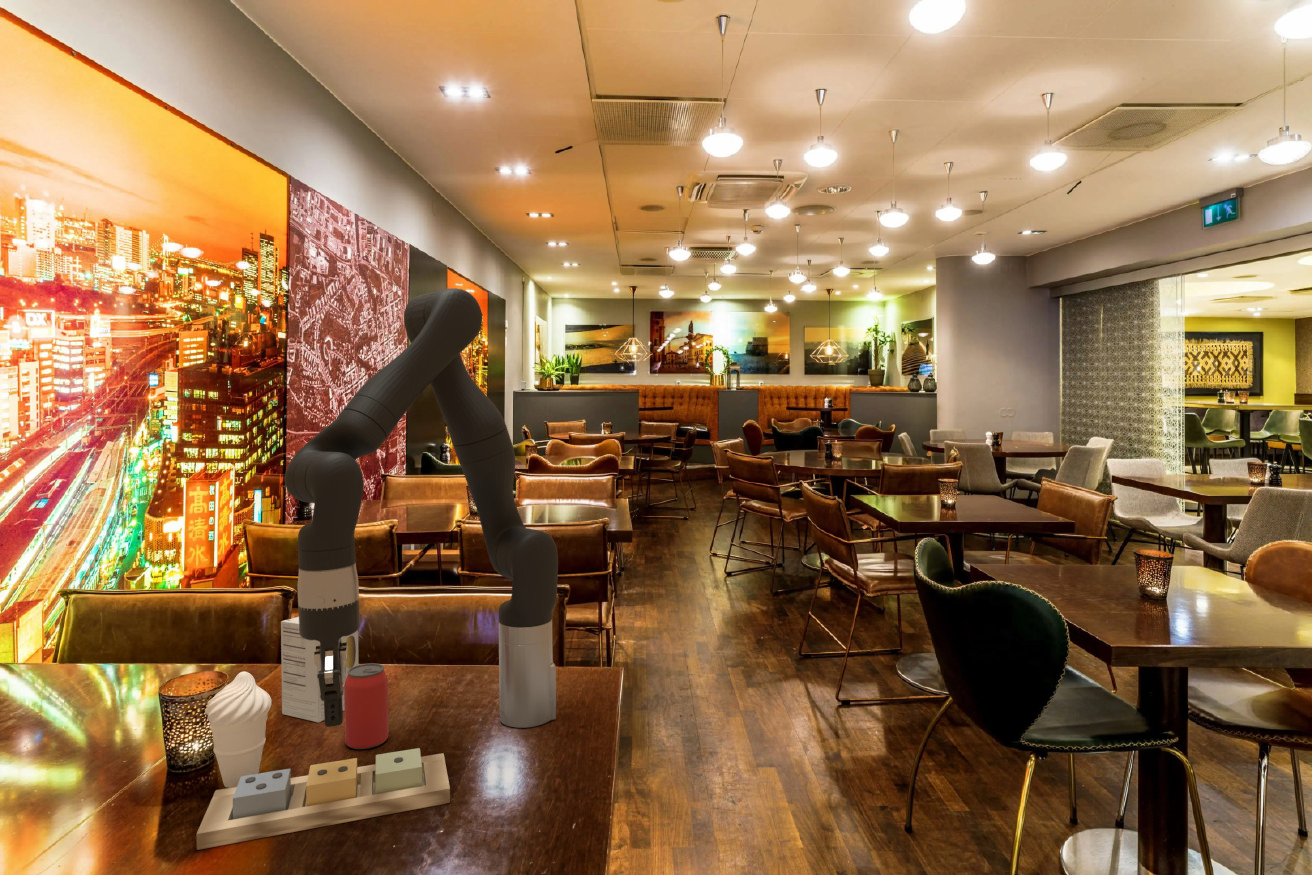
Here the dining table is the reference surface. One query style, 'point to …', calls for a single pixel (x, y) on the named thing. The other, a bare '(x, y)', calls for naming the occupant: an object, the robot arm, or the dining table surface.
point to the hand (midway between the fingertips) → (334, 723)
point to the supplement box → (306, 672)
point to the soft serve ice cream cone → (238, 727)
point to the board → (322, 806)
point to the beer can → (366, 706)
